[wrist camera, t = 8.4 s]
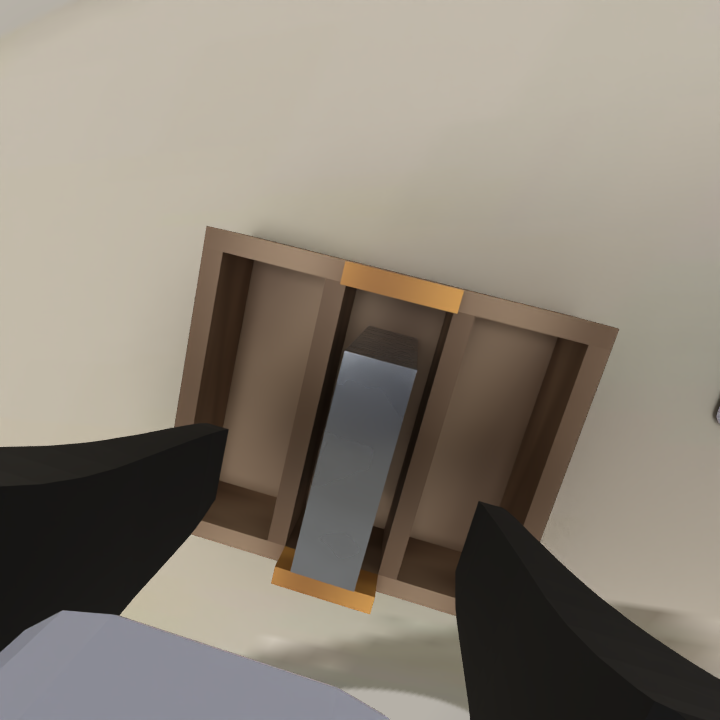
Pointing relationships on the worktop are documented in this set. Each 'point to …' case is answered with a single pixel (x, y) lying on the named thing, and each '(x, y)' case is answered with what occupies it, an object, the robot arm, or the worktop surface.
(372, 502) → the panel
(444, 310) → the rack
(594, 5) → the worktop surface
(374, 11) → the worktop surface
